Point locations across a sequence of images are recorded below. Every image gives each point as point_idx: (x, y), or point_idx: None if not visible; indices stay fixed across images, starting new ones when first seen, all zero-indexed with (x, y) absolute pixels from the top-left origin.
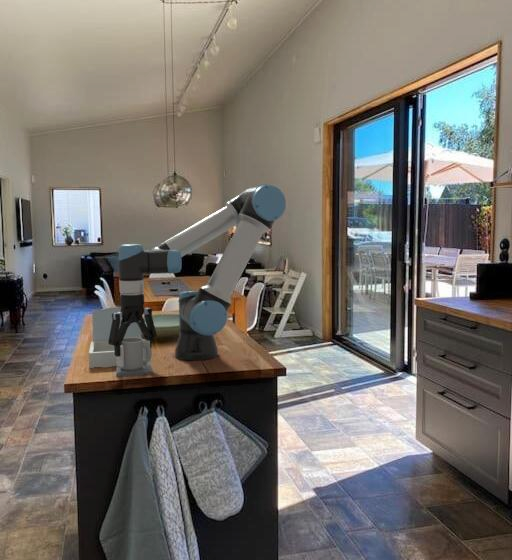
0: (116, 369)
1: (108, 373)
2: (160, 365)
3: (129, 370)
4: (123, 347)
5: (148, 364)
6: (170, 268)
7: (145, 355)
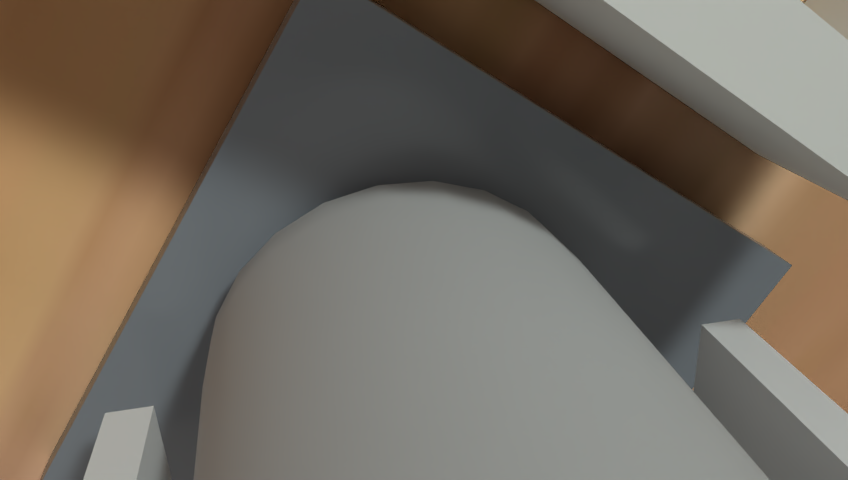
0: (148, 290)
1: (13, 218)
2: (832, 325)
3: None
4: None
5: (690, 344)
6: None
7: (740, 429)
